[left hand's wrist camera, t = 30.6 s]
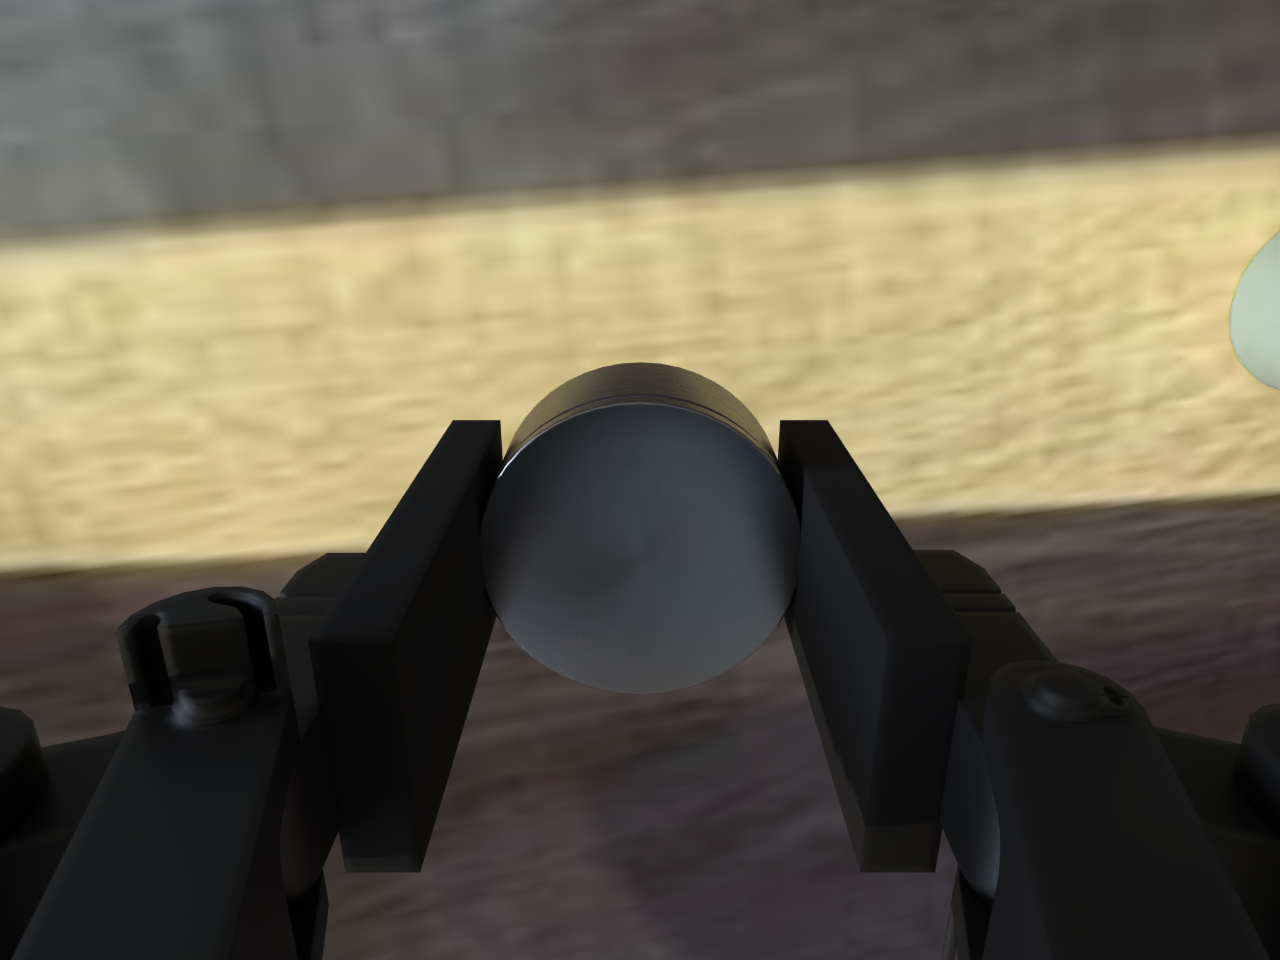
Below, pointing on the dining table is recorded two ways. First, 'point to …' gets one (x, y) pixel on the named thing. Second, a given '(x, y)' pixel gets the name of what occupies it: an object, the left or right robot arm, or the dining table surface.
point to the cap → (640, 531)
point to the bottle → (1259, 316)
